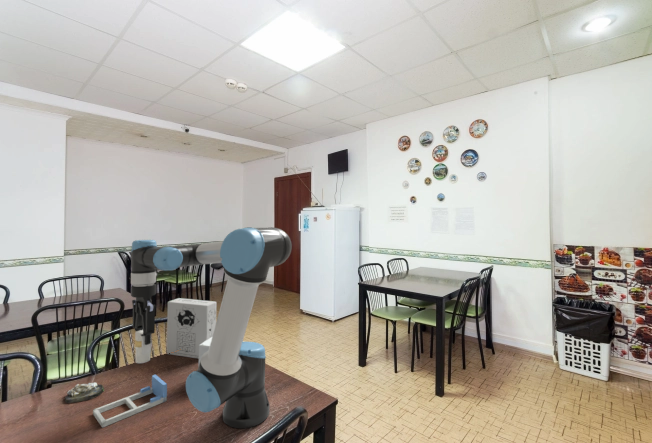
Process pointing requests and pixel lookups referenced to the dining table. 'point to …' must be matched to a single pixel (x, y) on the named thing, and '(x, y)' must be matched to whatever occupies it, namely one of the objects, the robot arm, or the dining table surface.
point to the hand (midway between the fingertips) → (143, 351)
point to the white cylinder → (140, 349)
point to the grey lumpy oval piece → (84, 392)
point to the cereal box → (189, 325)
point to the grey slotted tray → (157, 388)
